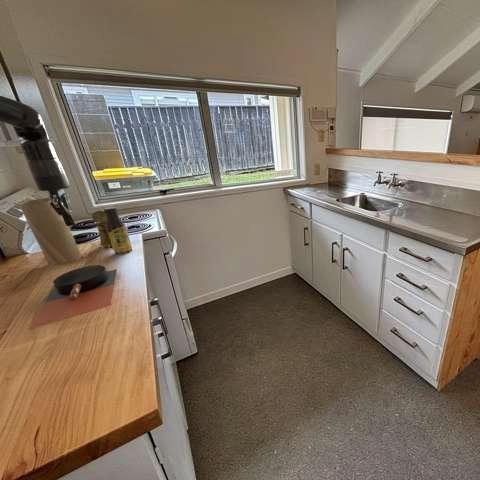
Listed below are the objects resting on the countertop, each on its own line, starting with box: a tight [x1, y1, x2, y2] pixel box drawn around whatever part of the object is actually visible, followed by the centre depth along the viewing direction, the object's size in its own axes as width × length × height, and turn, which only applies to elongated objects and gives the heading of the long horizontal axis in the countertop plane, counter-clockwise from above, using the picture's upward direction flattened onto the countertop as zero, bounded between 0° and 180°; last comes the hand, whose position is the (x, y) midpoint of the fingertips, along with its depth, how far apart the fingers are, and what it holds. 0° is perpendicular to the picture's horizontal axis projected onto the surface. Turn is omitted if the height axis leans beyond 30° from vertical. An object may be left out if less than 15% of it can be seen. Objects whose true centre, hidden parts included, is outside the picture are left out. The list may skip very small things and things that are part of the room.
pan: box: [52, 264, 109, 301], centre depth 81 cm, size 13×21×4 cm, turn 33°
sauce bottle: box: [103, 206, 133, 256], centre depth 106 cm, size 7×6×20 cm
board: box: [28, 268, 118, 330], centre depth 80 cm, size 17×27×1 cm, turn 33°
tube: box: [18, 197, 83, 267], centre depth 100 cm, size 10×10×25 cm
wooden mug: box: [91, 210, 112, 248], centre depth 115 cm, size 9×14×18 cm, turn 35°
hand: (71, 225), depth 88 cm, fingers closed
